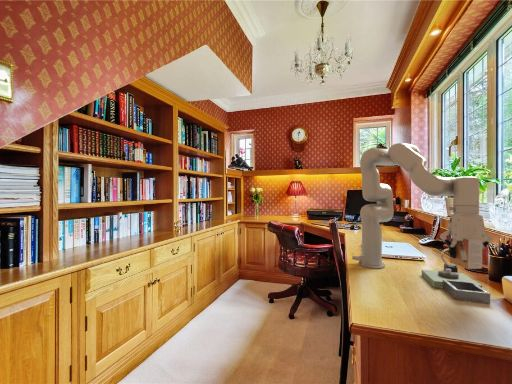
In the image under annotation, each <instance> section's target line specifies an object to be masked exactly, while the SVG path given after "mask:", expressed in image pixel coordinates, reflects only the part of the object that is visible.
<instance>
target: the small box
mask: <svg viewBox="0 0 512 384" xmlns="http://www.w3.org/2000/svg"><path fill="white" fill-rule="evenodd" d="M482 247H483V240H482V239H468V238H464V239H463V241H457V243H456V244H455V248H456V258H452V257H451V256H450V255H449V264H456V265H457V266H460V267H462V268H465V269H467V270H470V269H471V270H472V269H474V270H475V269H483V257H482Z"/></svg>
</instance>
